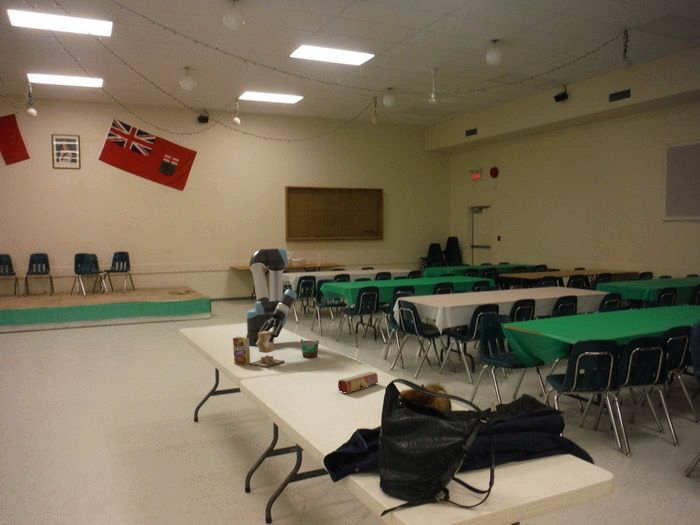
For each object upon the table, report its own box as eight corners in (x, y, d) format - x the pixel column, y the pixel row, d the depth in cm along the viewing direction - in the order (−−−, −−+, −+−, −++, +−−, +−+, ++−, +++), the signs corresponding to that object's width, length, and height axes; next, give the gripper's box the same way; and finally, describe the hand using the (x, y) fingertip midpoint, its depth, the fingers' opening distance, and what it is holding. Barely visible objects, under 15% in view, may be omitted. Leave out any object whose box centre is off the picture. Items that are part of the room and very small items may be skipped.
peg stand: (249, 365, 312) (249, 358, 312) (267, 359, 323) (266, 352, 323) (267, 368, 304) (267, 361, 303) (284, 362, 315) (284, 355, 315)
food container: (296, 357, 326) (295, 341, 325) (302, 355, 331) (301, 338, 330) (314, 359, 320) (313, 342, 319) (319, 356, 325) (319, 340, 325)
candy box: (233, 364, 316) (232, 337, 315) (238, 362, 320) (237, 336, 318) (245, 365, 311) (244, 338, 310) (250, 363, 315) (249, 337, 314)
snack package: (369, 382, 271) (369, 369, 270) (379, 385, 266) (379, 371, 266) (337, 392, 256) (337, 378, 256) (347, 395, 252) (346, 381, 251)
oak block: (259, 351, 312) (258, 332, 312) (266, 349, 317) (265, 330, 316) (266, 353, 309) (265, 333, 308) (274, 350, 314) (273, 331, 313)
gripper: (265, 308, 325) (246, 340, 313) (289, 309, 314) (270, 343, 302) (272, 315, 330) (253, 347, 318) (295, 317, 319) (277, 351, 306)
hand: (261, 345), depth 310 cm, fingers closed on oak block, 6 cm apart
